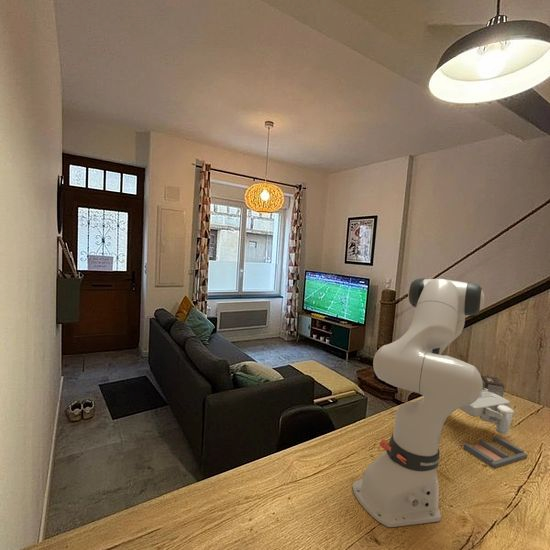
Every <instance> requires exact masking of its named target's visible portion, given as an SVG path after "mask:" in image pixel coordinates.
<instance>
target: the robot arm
mask: <svg viewBox="0 0 550 550" xmlns="http://www.w3.org/2000/svg"><path fill="white" fill-rule="evenodd" d="M407 297H408V301H409V303H410V305H411V306H412V307H413V308H415V309H414V310H415V311H414V314H413V317H412V321H411V323H410V325H409V328H408V329H407V331H406V332H405V333H404V334H403V335H402V336H401V337H400V338H398V339H397V340H395V341H392V342H391V343H388V344H384V345H382V346H381V347H379V349H378V350H377V351H376V352H375V354H374V357H373V362H372V365H373V371H374V374H375V376H376V377H377V378H378V379H379V380H381V381H383V382H385V383H386V384H388V385H391V386H393V387H396V388H400V389H403V390H406V391H408V392H412V393H415V394H420V395H421V396H422V397H423V398H422V399H420V400H416V401H410V402H409V401H408V402H406V403H403V404H401V405H400V406H399V407H398V408H397V410H396V412H395V418H394V424H393V425H394V426H393V433H392V434H391V435H390V436H391V437H390V439H389V440H388V441H386V440H385V439H382V440H380V442H379V447H381V448H382V449H384V451H383V452H382V453H381V454H380V455H379V456H378V457H377V458H375V460H374V461H372V462H371V463H370V464H369V465H368V466H367V467H366V468H365V471H364V473H363V477H361V478H359V479H358V480H356V481H354V482H353V483H352V491H353V494H354V496H355V498H356V499H357V501H358V502H359V503H360V505H361V507H363V508H364V510H365V511H366V512H367V513H368V514H369V515H370V516H371V517H372V518H373V519H375V521H377V522H378V523H380V524H382V525H384V526H385V527H387V528H395V527H403V526H404V527H405V526H413V525H418V524H419V525H420V524H428V523H435V522H437V523H438V522H440V521H442V515H441V511H440V509H439V503H440V502H439V493H440V490H439V485H440V484H439V478H438V472H437V468H438V467H439V461H440V457H441V456H440V454H441V453H440V448H439V446H440V440H441V435H442V431H443V427H444V424H445V422H446V420H447V419H448V417H449V416H451V414H452V413H454V412H455V411H456V410H458V409H459V410H461V411H463V412H464V413H466V414H467V415H469V416H471V417H474V418H477V417H480V416H484V415H488V416H492V417H496V418H498V419H504V414H502V413H500V412H497V407H498V406H499V405H505V406H507V407H509V408H511V402H510V401H509V400H508V398H506V397H504V396H503V397H501V396H499V395H497V394H494V393H492V392H488V389H486V388H482V387H483V383H482V378H481V373H480V372H479V370H478V368H477V367H476V366H475V365H473V364H470V363H468V362H465V361H463V360H461V359H458V358H456V357H453V356H452V355H451V356H450V355H449V354H448V355H447V354H444V355H443V352H444V351H445V349H446V348H447V347H448V346H449V345H450V344H452V342H453V341H455V340H456V339H457V338H458V337H459V336H460V335H461V334H462V332H463V330H464V327H465V324H466V323H465V322H466V316H475V315H476V316H477V314H480V312H481V310H482V309H483V308H484V305H485V298H486V297H485V294H484V291H483V287H481V286H480V285H479V284H477V283H474V282H470V281H469V282H464V281H459V280H453V279H452V280H451V279H445V278H428V279H427V278H425V277H424V278H416V279H414V280H413V281H412V282H411V283H410V286H409V287H408V289H407ZM514 417H515V412H514V413H513V416H512V418H514Z"/></svg>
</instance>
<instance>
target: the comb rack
mask: <svg viewBox="0 0 550 550" xmlns="http://www.w3.org/2000/svg"><path fill="white" fill-rule="evenodd" d="M492 437H493V438H492V442H494V443H496V444H498V445H499V446H501V447H503V448H504V449H507V450H509V451H510V452H512V453H514V454H513V455H509V454H508V453H506V452H505V451H503V450H502V449H500V448H498V447H496V446H494V445H493V444H491V443H489V442H488V441H486V440H485V439H482V438H481V439H478V444H474V445H471V444H469V443H467V442H465V443H463V446H462V449H463V450H465V451H466V452H468V453H469V454H470V455H472V456H474V457H475V458H477V459H478V460H480V461H481V462H483V463H484V464H487V466H490V467H491V468H492V469H496V468H499V467H503V466H505V465H509V464H511V463H515V462H518V461H521V460H524V459H527V458H528V454H527V453H525V452H524V451H525V450H523V449H522V448H520V447H518V446H516V445H515V444H513V443H511V442H509V441H507V440H505V439H504V438H502V437H500V436H498V435H493V436H492Z"/></svg>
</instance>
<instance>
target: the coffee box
mask: <svg viewBox="0 0 550 550" xmlns="http://www.w3.org/2000/svg"><path fill="white" fill-rule="evenodd" d="M480 375H481V374H480ZM481 378H482V383H483V387H482V388H486V389H488V392H492V393H494V394H497V395H499V396H501V397H503V398H504V394H505V393H504V392H505V387H506V386H505V385H504V383H503V382H502V381H501V380H500V379H499V378H498V377H494V376H486V375H481ZM479 417H480V418H481V420H482V421H485V422H486V421H487V422H489V423H490V422H491V423H495V424H496V423H497V418H496V417H492V416H488V415H484V416H479Z"/></svg>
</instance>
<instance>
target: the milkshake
mask: <svg viewBox="0 0 550 550" xmlns="http://www.w3.org/2000/svg"><path fill="white" fill-rule="evenodd" d="M516 408H517V405H514V407H513V409H512V408H511V407H510V408H509V407H507V406H505V405H499V406H498V407H497V412H500V413H502V414H504V419H498V418H497V423H495V424H496V425H495V431H496V432H497V433H499V434H500V435H501V434H502V435H508V434H509V430H510V426H511V422H512V419H513V417H512V416H513V413H514V414H515V411H514V410H516Z"/></svg>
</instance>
